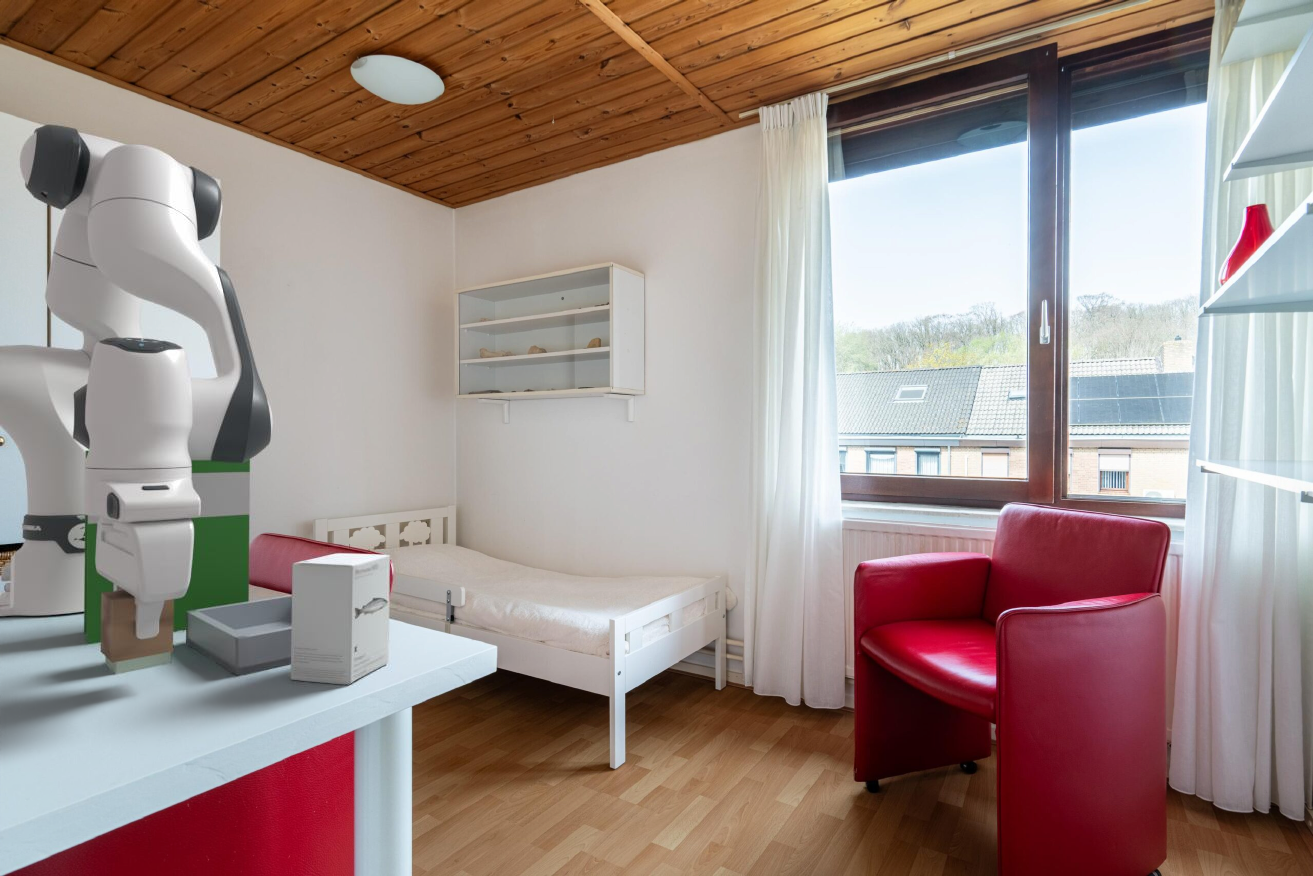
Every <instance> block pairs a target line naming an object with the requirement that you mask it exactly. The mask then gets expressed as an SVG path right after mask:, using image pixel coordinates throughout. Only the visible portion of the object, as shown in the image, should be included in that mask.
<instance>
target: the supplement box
mask: <svg viewBox="0 0 1313 876" xmlns="http://www.w3.org/2000/svg"><path fill="white" fill-rule="evenodd" d="M390 557H391V555H389V554H378V553H377V554H375V553H374V554H373V553H341V552H339V553H333V554H327V555H323V556H319V557H315V558H311V559H305V560H302V561H301V560H300V561H297V562H294V563H292V571H291V574H292V577H291V579H292V581H291V595H292V627H291V664H290V680H292V681H300V682H301V681H302V682H313V683H322V684H323V683H324V684H334V685H335V684H336V685H348V686H349V685H351V684H352V683H354V682H355V681H357V680H359V679H361V678H363V677H364V676H366V675H368V674H370V673H371V672H373V671H375V670H378V669H379V668H381V667H384V666H385V665H387V664H388V663H389V653H390V652H389V651H390V650H389V648H390V647H389V643H390V639H389V638H390V577H391V576H390V572H391V571H390V570H391V567H390V563H391V561H390V560H391V558H390Z"/></svg>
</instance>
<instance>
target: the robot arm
mask: <svg viewBox="0 0 1313 876" xmlns="http://www.w3.org/2000/svg"><path fill="white" fill-rule="evenodd" d="M19 168H20V172H21V175H22V177H23V181H24V183H25V184H24V185H25V188H26V189H27V191H28V192H29V193H30V194H31V196H33V198H35V199H36V200H38V201H40V202H42V203H44V204H45V205H48V206H50V207H53V208H56V209H58V210H61V211H62V210H65V211H64V213H63V216H62V219H61V222H60V224H59V228H58V231H57V234H56V239H55V242H54V247H53V252H52V258H51V261H50V262H51V263H50V268H49V273H48V277H47V278H48V279H47V283H46V287H45V288H46V289H45V294H44V299H45V302H46V304H47V307H48V309H49V310H50V311H51V313H52V314H53V315H54V316H55V317H56V318H58V319H59V320H61V321H62V322H63V323H66V324H68V326H71V327H72V328H74V329H76V330H77V331H80V332H81V333H82V335H83V345H82V348H81V349H73V348H72V349H71V348H64V347H63V348H61V347H51V346H41V345H33V344H32V345H31V344H13V345H12V344H11V345H8V344H7V345H0V427H1V428H2V429H3V430H4V431H5V432H6V433H7V434H8V436H10V438H11V439H12V441H13V442H14V443H15V446H16V447H17V448H18V451H19V452H20V455H21V458H22V459H23V460H22V461H23V463H24V468H25V479H26V489H27V490H26V492H27V514H24V516H23V521H22V522H23V523H22V524H21V529H22V538H23V539H24V542H23V544H22V546H21V547H20V548H19V549H18V550H17V551H15V553H14V554H13V555H11V556H10V562H5V563H4V564H5V565H3V566H1V567H0V568H1V572H0V579H1V580H0V581H1V582H5V583H4V588H3V589H4V592H2V593H1V594H0V617H7V616H9V617H10V616H52V615H62V614H63V615H64V614H65V615H66V614H73V613H81V612H84V572H85V515H89V516H98V523H97V537H96V555H95V563H96V569H97V572H98V574H100V575H102V576H103V577H105V578H106V579H108V580H109V581H111V582H113V583H114V589H113V590H114V591H121V590H125V591H127V592H128V593H130V594H131V595H133V596H134V597H135V605H136V618H135V619H134V622H133V626H134V630H133V633H134V635H135V636H136V637H137V638H139V639H146V638H152V637H155V636H157V635H158V633H159V618H160V615H161V612H162V609H163V605H164V601H165V600H171V599H177V598H182V597H183V596H184V595H185V594H186V592H187V589H188V586H189V583H190V577H191V567H192V557H193V544H194V526H193V522H192V520H191V519H190V518H197V517H199V516H200V512H201V500H200V497H199V495H198V494H197V493H196V491H195V490H194V488H193V483H192V480H191V479H192V473H191V472H192V467H191V466H192V463H191V460H211V461H212V462H227V463H241V464H242V463H244V462H246V461H248V460H249V459H250V460H251V459H252V458H254V457H255V456H257V455H258V454H260V453H261V452H262V451H264V450H265V449H266V448H267V447H268V446H269V445H270V443H271V440H272V439H271V437H272V435H273V434H272V433H273V429H274V428H273V426H274V418H273V417H274V416H273V412H272V407H271V405H270V402H269V400H268V397H267V394H266V391H265V388H264V386H263V384H262V380H261V378H260V375H259V372H258V369H257V365H256V361H255V357H254V354H253V350H252V347H251V346H252V345H251V343H250V339H249V336H248V332H247V328H246V325H245V320H244V317H243V314H242V310H241V306H240V303H239V300H238V297H237V294H236V291H235V288H234V285H233V283H232V280H231V278H230V277H229V275H228V273H227V271H226V270H224V269H222V268H221V267H219V266H218V265H216V264H215V263H213V262H212V261H211V259H210V258H209V257H208V256H207V255H206V253H205V252H204V250H203V249H202V247H201V245H200V243H199V241H202V240H204V239H206V238H209V237H211V236H212V235H213V233H214V232H215V230H216V228H217V226H218V225H219V224H220V221H221V218H222V216H223V215H222V214H223V200H222V190H221V188H220V185H219V184H218V182H217V181H216V179H215V178H214V177H212V176H210V175H209V174H207V173H205V172H204V171H202V170H200V169H198V168H196V167H193V166H192V165H191V166H186V165H184V164H182V163H180V162H178V161H177V160H176V159H174V158H173V157H172V156H171V155H169V153H166V152H164V151H162V150H160V149H158V148H155V147H153V146H150V145H149V146H148V145H145V144H133V143H132V144H131V143H130V144H126V143H122V142H120V141H116V140H112V139H110V138H104V137H101V136H97V135H94V134H93V135H92V134H88V133H84V132H79V131H78V129H77V128H74V127H70V126H64V125H57V124H45V125H43V126H42V125H41V126H40V127H37V128H35V129H34V131H33V133H32V134H31V135H30V136H29V137H28V138H27V140H26V141H25V142H24V144H23V146H22V148H21V152H20V156H19ZM143 301H147V302H149V303H153V304H156V305H159V306H162V307H163V308H167V309H169V310H171V311H174V312H176V313H178V314H180V315H182V316H184V317H186V318H188V319H190V320H191V321H194V323H196V324H198V325H199V326H200V327H201V328H202V329H203V330H204V332H205V334H206V335H207V336H206V337H207V339H208V343H209V347H210V351H211V355H212V358H213V359H212V360H213V363H214V368H215V370H216V375H217V377H214V378H200V377H199V378H198V377H197V378H196V377H191V375H190V367H189V361H188V356H187V352H186V350H185V349H184V347H182V346H181V345H178V344H177V343H175V342H171V341H166V340H158V339H152V338H144V336H143V332H142V326H141V325H142V324H141V317H142V308H143V307H142V306H143ZM86 450H89V452H88V455H87V458H86Z"/></svg>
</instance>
